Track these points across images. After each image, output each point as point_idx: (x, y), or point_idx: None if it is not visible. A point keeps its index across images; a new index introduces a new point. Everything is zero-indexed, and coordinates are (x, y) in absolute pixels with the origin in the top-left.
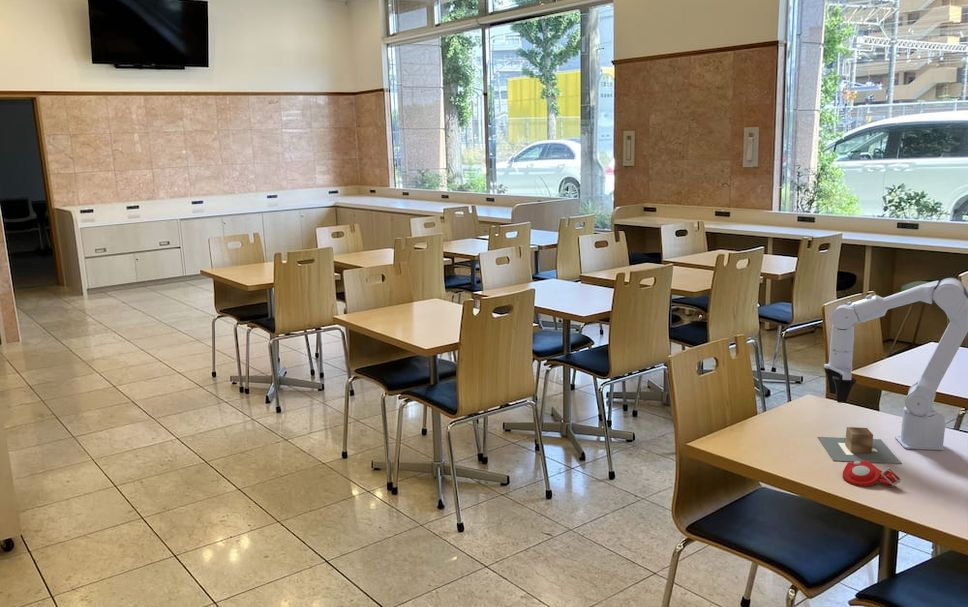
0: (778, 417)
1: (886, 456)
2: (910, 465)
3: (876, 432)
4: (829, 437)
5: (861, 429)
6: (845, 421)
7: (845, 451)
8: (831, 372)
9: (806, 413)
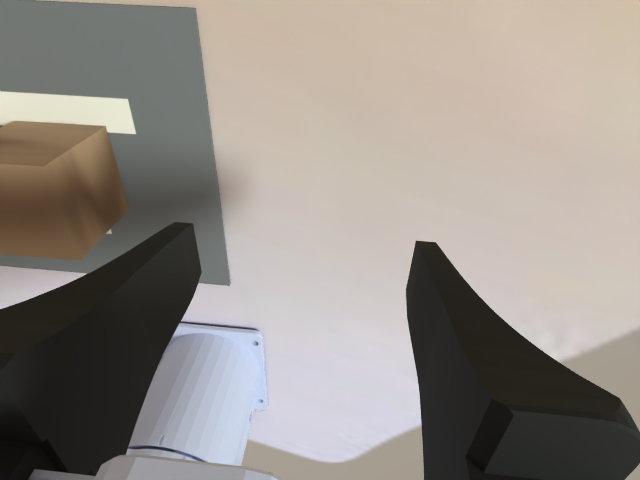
0: None
1: None
2: (6, 282)
3: (315, 298)
4: (198, 79)
5: (39, 228)
6: (455, 234)
7: (16, 99)
8: (461, 423)
9: (635, 67)
